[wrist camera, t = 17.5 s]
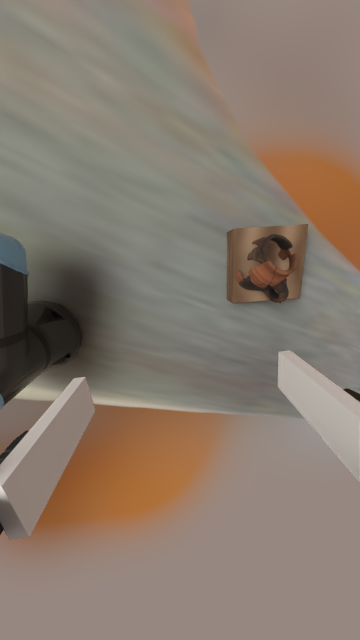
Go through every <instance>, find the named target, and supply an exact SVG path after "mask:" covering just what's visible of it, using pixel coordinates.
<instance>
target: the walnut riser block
mask: <svg viewBox="0 0 360 640" xmlns="http://www.w3.org/2000/svg"><path fill="white" fill-rule="evenodd" d="M307 229H308V224H303V225H287V226H271V227H255V228H239V229H233V230H231V231H229V232H227V300H229V301H230V302H232V303H240V302H254V301H268V300H270V299H269V298H268V297H267V296H266V295H265V294H264V293H263V292H262V291H256V290H246V289H244V288H242V287H241V286H240V285H239V283H238V282H237V281H236V279H235V277H234V273H235V272H237V271H238V270H240V271H241V273H242V275H243V277H244V279H245V278H247V276H249V273H248V272H249V270H250V268H252V267H255V266H257V265H259V264H261V263H259V262H258V261H254V260H247V256H248V254H249V253H250V252H251V251H252V250H253V249H254V248H255V247H257V246H258V245H256V244H252V242H253V241H255V240H257V239H260V238H262V237H268V236H269V235H271V234H278V235H282V236H284V237H286V238H287V239H288V240H289V241H290V242H291V243H292V246H293V247H292V248H290V249H289V250H290V252H291V255H293V254H294V253H297V257H298V263H297V267H296V269H295V270H294V272H293V273H291V274H289V276H287V277H286V279H287V282H286V283H287V287H288V291H289V294H288V297H287V299H296V298H300V291H301V282H302V273H303V264H304V255H305V247H306V238H307ZM280 250H281V249H280V247H279V246H278V244H277V243H276V242H274V241H269V242H268V245H267V253H268V256H269V259H270V261H271V262H272V263H273V264H274V265H275V266H276V267H277V268H279V269H281V270H288V269H289V258H288V257H287V258H286V259H285V260H282V259H281V258H280V257H279V256H278V253H279V251H280ZM274 291H275V292H276V293H278V292H277V291H276V290H274Z"/></svg>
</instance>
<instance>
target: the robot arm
mask: <svg viewBox="0 0 360 640" xmlns="http://www.w3.org/2000/svg"><path fill="white" fill-rule="evenodd" d="M27 276H29V273H28V271H27V265H26V252H25V249H24V247H23V245H22V244H21V243H20V242H19V241H17V240H16V239H14V238H12V237H10V236H7V235H4V234H1V233H0V409H1V408H2V407H3V406H4V405H5V404H6V403H7V402H8V401H10V400H11V399H12V398H13V397H14V396H16V395H17V394H18V393H19V392H20V391H21V390H22V389H24V388H25V387H26V386H27V385H28V384H29V383H31V382H32V381H33V380H34V379H35V378H36V377H37V376H39V375H40V374H41V373H42V372H44V371H47V370H50V369H53V368H56V367H59V366H61V365H63V364H65V363H66V362H68V361H69V360H70V359H71V358H72V357H73V356H74V355H75V354H76V353H77V351H78V350H79V347H80V344H81V332H80V328H79V326H78V324H77V322H76V320H75V319H74V317H73V316H72V315H71V314H70V313H69V312H68V311H66V310H65V309H64V308H62V307H60V306H58V305H56V304H54V303H50V302H45V301H36V302H31V303H28V284H27ZM278 388H279V389H280V390H281V391H282V392H283V393H284V395H285V396H286V397H287V398H288V399H289V400H290V402H291V403H292V404H293V405H294V406H295V408H296V409H297V410H298V411H299V412H300V413H301V415H302V416H303V417H304V418H305V419H306V420H307V422H308V423H309V424H310V425H311V426H312V427H313V429H314V430H315V431H316V432H317V433H318V434H319V436H320V437H321V438H322V439H323V440H324V441H325V443H326V444H327V445H328V446H329V447H330V448H331V449H332V451H333V452H334V453H335V454H336V455H337V456H338V458H339V459H340V460H341V461H342V462H343V464H344V465H345V466H346V467H347V468H348V470H349V471H351V473H352V474H353V475H354V477H355V478H356V479H357V480H358V481H359V482H360V394H359V393H357V392H354V391H352V390H350V389H341V388H340V387H339V386H337V385H336V384H335V383H333V382H332V381H331V380H329V379H328V378H326V377H325V376H324V375H322V374H321V373H320V372H318V371H317V370H316V369H314V368H313V367H312V366H310V365H309V364H308V363H306V362H305V361H304V360H302V359H301V358H299V357H298V356H297V355H295V354H294V353H293V352H291V351H282V352H279V360H278ZM94 412H95V407H94V404H93V400H92V397H91V394H90V391H89V387H88V384H87V381H86V377H81V378H74V379H73V380H72V381H71V383H70V384H69V385H68V386H67V387H66V388H65V390H64V391H63V392H62V393H61V394H60V395H59V397H58V398H57V399H56V400H55V401H54V402H53V404H52V405H51V406H50V407H49V408H48V409H47V411H46V412H45V413H44V414H43V415H42V417H41V418H40V419H39V420H38V421H37V422H36V423H35V425H34V426H33V427H32V428H31V429H30V430H29V431H25V432H24V433H23V434H21V435H20V436H19V437H17V438H16V439H15V440H14V441H13V442H12V443H11V444H10V445H9V446H8V447H7V449H6V450H5V452H4V453H2V454H1V455H0V534H1V533H2V531H3V530H4V531H5V533H6V535H7V536H8V538H9V539H18V538H25V537H30V535H31V533H32V531H33V529H34V527H35V525H36V523H37V521H38V519H39V517H40V516H41V514H42V512H43V510H44V508H45V506H46V504H47V502H48V500H49V498H50V496H51V494H52V493H53V490H54V489H55V487H56V485H57V483H58V481H59V479H60V477H61V475H62V473H63V472H64V470H65V468H66V466H67V464H68V462H69V460H70V458H71V456H72V454H73V452H74V451H75V449H76V447H77V445H78V443H79V441H80V438H81V437H82V435H83V433H84V431H85V429H86V427H87V426H88V424H89V422H90V420H91V418H92V416H93V414H94Z"/></svg>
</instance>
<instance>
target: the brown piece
mask: <svg viewBox="0 0 360 640" xmlns="http://www.w3.org/2000/svg"><path fill="white" fill-rule="evenodd" d="M269 241H274V242H276V243H277V244H278V246H279V247H280V249H281V250H280V251H279V253H278V256H279V257H280V258H281V259H282V260H285V259H286V258H287V257H288V258H289V269H288V270H281V269H279V268H277V267H276V266H275V265H274V264H273V263H272V262H271V261H270V259H269V256H268V253H267V245H268V242H269ZM252 244H256V245H258V246H257V247H255V248H254V249H253V250H252V251H251V252H250V253H249V254H248V256H247V260H254V261H258V262H259V263H261V264H259V265H257V266H255V267H252V268H250V270H249V272H248V273H249V276H247V278H245V279H244V277H243V275H242V273H241V271H240V270H238V271H237V272H235V273H234V277H235V279H236V281H237V282H238V283H239V285H240V286H241V287H242V288H244V289H246V290H256V291H262V292H263V293H264V294H265V295H266V296H267V297H268V298H269V299H270V300H271V301H273V302H279V303H281V302H282V301H284V300H286V299H287V297H288V294H289V291H288V287H287V283H286V282H287V279H286V277H287V276H289V274H291V273H293V272H294V270H295V269H296V267H297V263H298V257H297V253H294V254H293V255H291V252H290V250H289V249H290V248H292V247H293V246H292V243H291V242H290V241H289V240H288V239H287V238H286V237H284V236H282V235H278V234H271V235H269V236H268V237H262V238H260V239H257V240H255V241H253V242H252ZM274 290H276V291H277V292H278V293H276V292H275V291H274Z"/></svg>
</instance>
